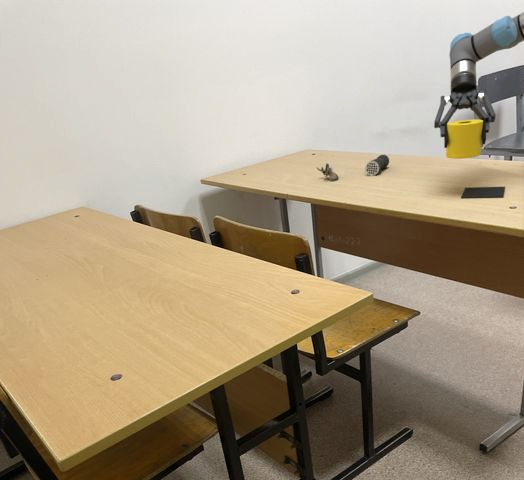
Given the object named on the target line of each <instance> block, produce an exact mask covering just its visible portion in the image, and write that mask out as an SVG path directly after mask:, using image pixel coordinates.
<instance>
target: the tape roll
mask: <svg viewBox="0 0 524 480" xmlns="http://www.w3.org/2000/svg"><path fill="white" fill-rule="evenodd" d="M482 128H483V120H480V119H462V120H461V119H460V120H455V121H451V122H448V123H447V133H448V143H447V148H445V150H446V152H445V154H446V155H445V157H446V158H447V159H454V160H460V159H472V158H476V157H479V156H481V155H482V145H483V144H482Z"/></svg>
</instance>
